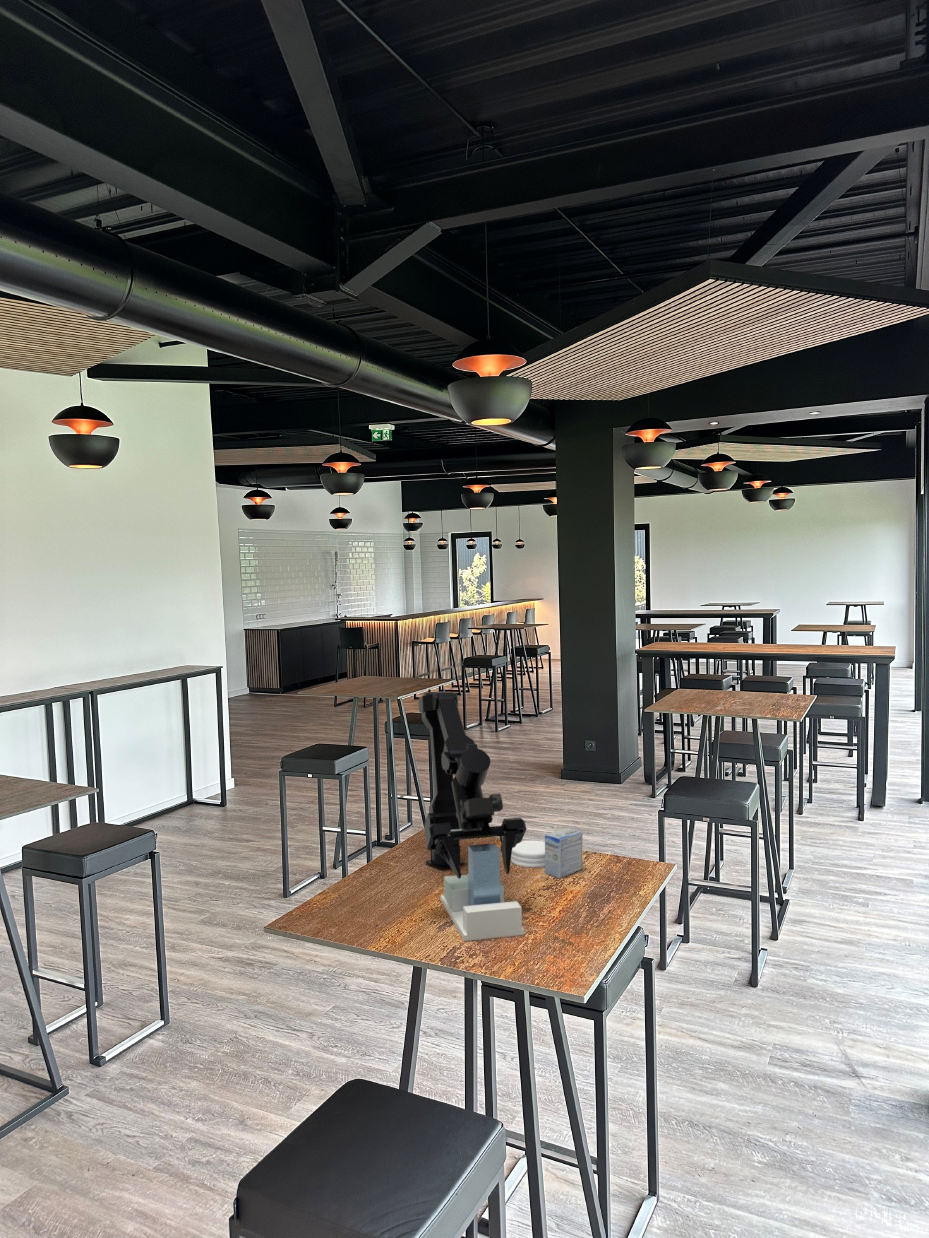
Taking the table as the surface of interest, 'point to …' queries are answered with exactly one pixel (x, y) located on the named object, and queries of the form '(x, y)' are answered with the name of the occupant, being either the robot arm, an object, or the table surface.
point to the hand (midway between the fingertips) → (484, 875)
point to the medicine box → (563, 852)
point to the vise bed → (487, 920)
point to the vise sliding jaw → (460, 892)
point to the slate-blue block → (483, 874)
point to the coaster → (529, 854)
